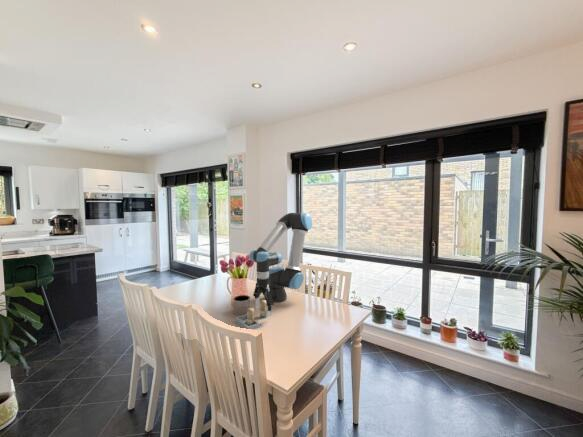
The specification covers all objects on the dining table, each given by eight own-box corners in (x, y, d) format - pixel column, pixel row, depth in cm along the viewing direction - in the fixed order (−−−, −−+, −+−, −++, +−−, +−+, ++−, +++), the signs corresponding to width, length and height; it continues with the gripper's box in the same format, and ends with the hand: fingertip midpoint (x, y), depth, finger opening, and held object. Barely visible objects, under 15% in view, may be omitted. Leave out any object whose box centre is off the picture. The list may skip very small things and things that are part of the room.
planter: (254, 311, 168) (253, 296, 167) (242, 317, 158) (242, 302, 158) (241, 307, 173) (241, 293, 173) (229, 313, 164) (229, 299, 163)
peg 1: (252, 324, 148) (251, 307, 148) (255, 326, 145) (255, 309, 144) (245, 326, 146) (245, 309, 145) (249, 329, 143) (248, 311, 142)
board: (250, 317, 159) (250, 312, 159) (263, 327, 146) (263, 322, 146) (232, 322, 152) (231, 318, 151) (244, 333, 139) (244, 328, 139)
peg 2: (264, 315, 161) (264, 299, 160) (267, 317, 157) (267, 301, 157) (258, 316, 158) (258, 301, 158) (262, 319, 155) (261, 303, 154)
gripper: (247, 274, 164) (248, 306, 165) (268, 283, 144) (268, 320, 145) (258, 272, 169) (258, 304, 170) (279, 281, 149) (279, 317, 150)
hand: (262, 312), depth 157 cm, fingers open, 13 cm apart
